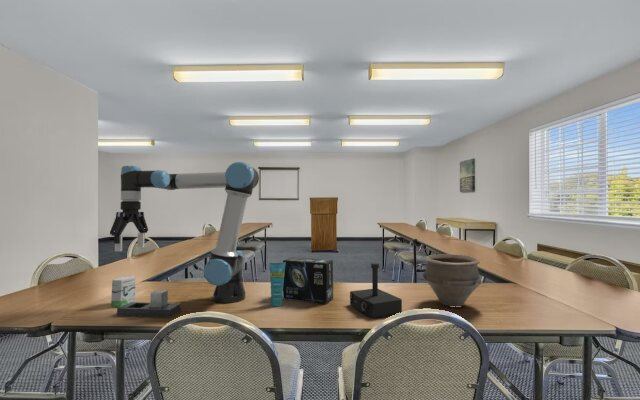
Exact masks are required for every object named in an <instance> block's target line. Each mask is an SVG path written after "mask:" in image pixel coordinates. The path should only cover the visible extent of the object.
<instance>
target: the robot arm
mask: <svg viewBox="0 0 640 400" xmlns="http://www.w3.org/2000/svg"><path fill="white" fill-rule="evenodd" d="M120 170H121V171H120V200H121V201H120V210H121V211H117V212H116V213H115V218H114V221H113V224H112V226H111V228H110V231H109V235H111V236H113V237H114V238H113V244H114V252H123V235H122V233H123V232H124V231H125V228H126V227H127V225H128V224H129V223H133V225H134V226H135V228H136V229H137V231H138V233H137V248H145V238H146V237H145V234H147V233H148V231H149V227H148V224H147V221H146V219H145V214H144V211H140V210H141V209H142V208H141V206H142V205H141V204H142V202H141V200H142V188H143V189H144V188H155V189H163V190H167V191H174V190H179V189H180V190H185V189H186V190H189V189H193V190H194V189H217V188H219V189H220V188H222V189H223V188H224V191H225V192H226V194H227V195H226V199H225V204H224V210H223V213H222V218H221V223H220V227H219V231H218V237H217V241H216V245H215V248H213V249H211V251H210V256H209V259H208V261H207V262H206V263H205V264H204V267H203V276H204V279H205V280H206V281H207V282H208V284H211V285H213V286H215V288H214V290H213V294H212V301H213V302H216V303H222V304H227V303H228V304H230V303H235V302H240V301H243V300H245V299H246V297H247V296H246V293H247V292H246V289H245V286H244V283H243V262H244V261H243V258H244V254H243V252H242V250H237V248H238V247H237V246H238V241H239V238H240V237H239V236H240V233H241V228H242V223H243V219H244V214H245V209H246V205H247V201H248V198H250V197H251V196H252V195H253V189H255V188H256V186H257V185H258V184H259V180H260V176H259V173H258V171H257V170H256V169H255V167H252V166H251V165H250V164H249V163H247V162H245V161H236V162H233V163H230V165H228V167H227V168H226V170H225V171H221V172H219V171H218V172H196V173H194V172H189V173H168V171H167V170H159V169H156V170H142V168H141V167H140V166H138V165H124V166H122V167H121V168H120Z"/></svg>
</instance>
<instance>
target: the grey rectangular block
mask: <svg viewBox="0 0 640 400" xmlns="http://www.w3.org/2000/svg"><path fill="white" fill-rule="evenodd" d="M168 300H169V290H167V289H157V290H155V291H153V292H150V302H149V303H150V308H152V309H162V308H164V307H166V306H168V303H169V301H168Z"/></svg>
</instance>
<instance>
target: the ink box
mask: <svg viewBox="0 0 640 400" xmlns="http://www.w3.org/2000/svg"><path fill="white" fill-rule="evenodd" d="M136 282H137V277H136V276H133V275H132V276H131V275H126V276H122V277H117V278H114V279H112V281H111V298H110V299H111V302H110V307H112V308H119V307H121V306H124V305H126V304H128V303H130V302H136V285H137V284H136Z"/></svg>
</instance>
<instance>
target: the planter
mask: <svg viewBox="0 0 640 400" xmlns="http://www.w3.org/2000/svg"><path fill="white" fill-rule="evenodd" d="M424 260H425V261H426V265H425V271H424V272H423V273H422V278H423V279H424V280H425V281H426V283H427V284H428V285H429V286H430V288H431V289H432V291H433V292H434V294H435V296H436V297H437V299H438V300H439V301H440V303H441V305H442V306H444V305H446V306H445V307H447V306H455V307H456V306H462V305H463V306H464V304H466V301H467V300H468V298H469V297H470V296H471V295H472V294H473V293H474V292H475V290H476V289H477V288H478V287H479V286H480V285H481V284H483V282H482V276H481V275H480V272H479V268H478V264H480V260H479V259H477V258H475V257H472V256H470V255H465V254H464V255H463V254H451V253H450V254H449V253H440V254H430V255H427V256H425V257H424ZM463 306H462V307H463Z"/></svg>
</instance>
